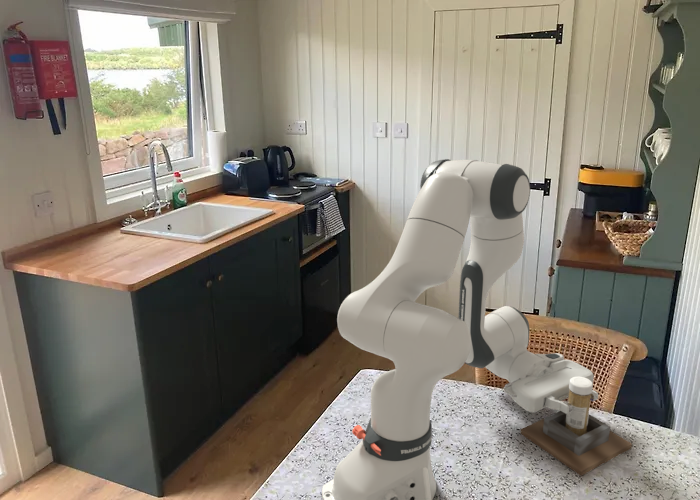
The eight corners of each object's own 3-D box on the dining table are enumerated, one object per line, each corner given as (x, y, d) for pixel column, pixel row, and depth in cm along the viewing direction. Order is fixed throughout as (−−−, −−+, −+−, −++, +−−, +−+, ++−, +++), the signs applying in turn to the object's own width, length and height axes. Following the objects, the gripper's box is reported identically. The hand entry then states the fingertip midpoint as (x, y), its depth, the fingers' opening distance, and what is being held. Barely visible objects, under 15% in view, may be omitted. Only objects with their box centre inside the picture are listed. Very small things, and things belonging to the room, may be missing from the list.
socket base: (580, 476, 113) (583, 456, 112) (520, 433, 126) (521, 415, 125) (631, 448, 121) (634, 429, 120) (569, 411, 134) (571, 393, 133)
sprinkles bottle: (589, 435, 123) (597, 381, 119) (580, 445, 120) (587, 389, 116) (569, 426, 127) (575, 373, 122) (559, 435, 124) (565, 381, 119)
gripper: (500, 375, 125) (550, 405, 114) (563, 351, 135) (615, 376, 124) (498, 400, 127) (547, 432, 116) (560, 374, 137) (611, 402, 126)
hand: (583, 403), depth 120 cm, fingers open, 7 cm apart
